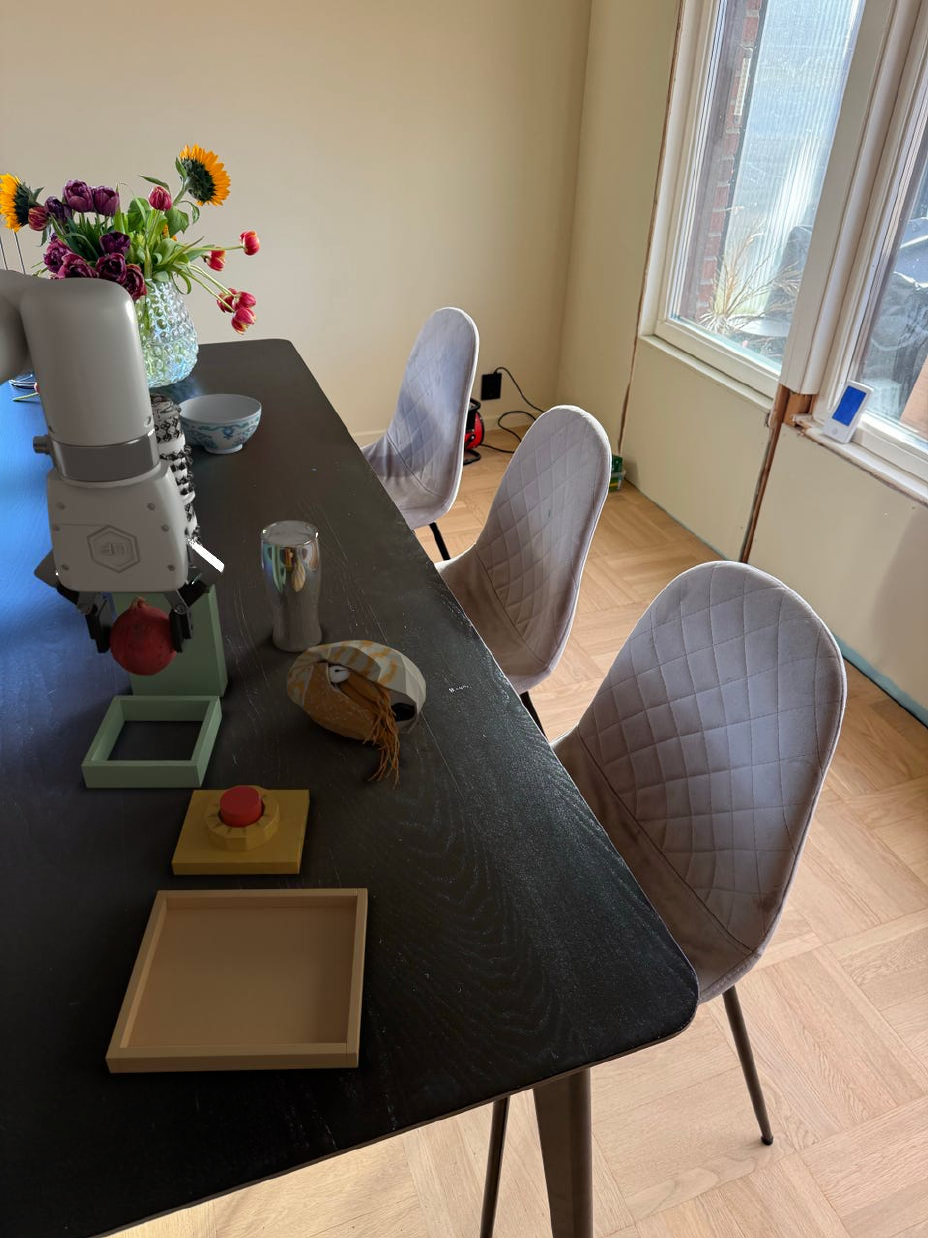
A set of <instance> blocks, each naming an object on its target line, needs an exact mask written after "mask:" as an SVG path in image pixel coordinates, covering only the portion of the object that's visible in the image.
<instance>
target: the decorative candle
mask: <svg viewBox="0 0 928 1238" xmlns="http://www.w3.org/2000/svg"><path fill="white" fill-rule="evenodd" d="M149 395H150V401H151V407H152V413H153V419H154V426H155V431H156V438H157V444H158V450H159V456H160V459H164V460H166V461H167V462H168V464H169V466H170V468H171V470H172V473H173V475H174V478H175V481H176V483H177V486H178V489H179V492H180V495H181V498H182V502H183V505H184V509H185V512H186V516H187V520H188V524H189V529H190V533H191V538H192V539H193V540H194V541H195V542H197V543H198V544H199V545H200V546H202V547H203V544H202V543H201V542H202V541H203V538H202V537H201V533H200V532H201V526H200V523H199V522H197V521H198V520H197V515H196V512H195V510H194V504H193V500H194V498H195V497H196V493H195V489H196V485H195V483H194V482H193V479H194V476H195V474H194V472H192V471H191V470H190V469H188V468H190V467H191V466H192V464H193V463H194V460H193V459H192V457H191V456H189V455H190V454H191V453H192V448H191V446H189V445H188V444H186V439H185V432H184V429H183V427H182V425H181V420H180V414H179V413H180V412H181V411H182V410H181V408H180V406H178V405H179V404H177V403H174V402H173V401H172V399H171V398H170V397H168V396H166V395H164V394H159V393H151V392H149ZM188 568H196V567H195V566H194V565H193V564H191V565H189V566H188Z"/></svg>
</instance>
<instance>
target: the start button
mask: <svg viewBox="0 0 928 1238" xmlns="http://www.w3.org/2000/svg"><path fill="white" fill-rule="evenodd" d="M237 786H238V787H236V786H233V787H234V788H233V787H231V789H230V788H228V789H229V790H228V789H227V790H228V791H226V792H225V793H224V794H223V795H222V797H221V799H220V809H221V816H222V820H223V821H224V823H225V824H227V825H228V826H231V827H235V828H236V827H246V826H249V825H251V824H253V823H255V822H256V821H257V820H258V819H259V818H260V816H261V814H262V807H261V798H260V794H259V792H258V791H257V790H256V789H254V788H252V787H249V786H250V785H237Z"/></svg>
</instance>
